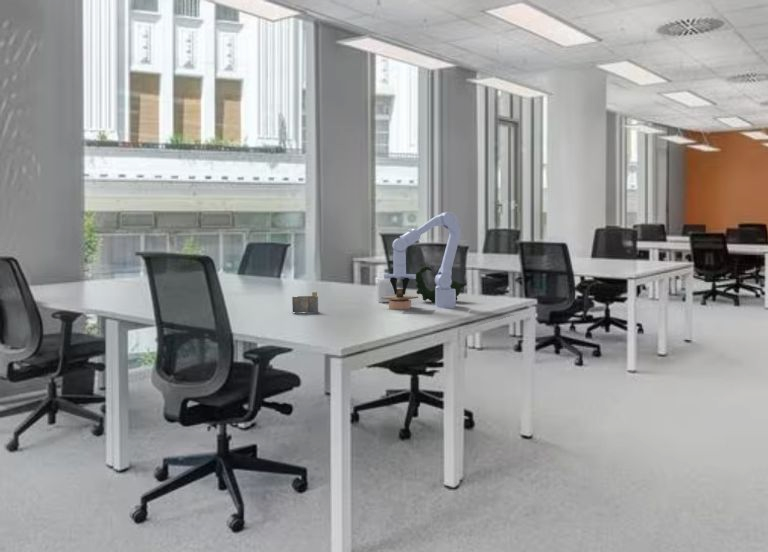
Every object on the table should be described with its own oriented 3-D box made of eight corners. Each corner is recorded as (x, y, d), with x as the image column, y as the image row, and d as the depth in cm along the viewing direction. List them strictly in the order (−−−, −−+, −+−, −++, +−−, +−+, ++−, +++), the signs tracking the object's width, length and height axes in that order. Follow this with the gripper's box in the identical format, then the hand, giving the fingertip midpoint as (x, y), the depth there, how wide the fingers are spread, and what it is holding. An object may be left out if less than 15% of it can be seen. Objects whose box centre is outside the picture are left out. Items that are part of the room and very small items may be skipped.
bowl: (412, 307, 320) (412, 299, 320) (408, 310, 311) (408, 301, 310) (391, 307, 322) (391, 298, 322) (387, 310, 313) (387, 301, 312)
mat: (435, 311, 307) (435, 310, 307) (431, 315, 295) (431, 314, 295) (407, 310, 310) (407, 309, 310) (401, 315, 298) (401, 313, 297)
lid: (418, 297, 316) (418, 288, 315) (400, 300, 307) (399, 291, 307) (399, 296, 324) (399, 287, 324) (381, 298, 316) (381, 289, 316)
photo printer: (393, 300, 346) (393, 276, 345) (398, 301, 342) (398, 276, 341) (376, 302, 340) (376, 277, 339) (381, 303, 337) (380, 278, 335)
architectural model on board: (318, 312, 311) (317, 291, 310) (318, 313, 308) (317, 291, 307) (293, 313, 310) (292, 291, 309) (292, 314, 307) (292, 292, 306)
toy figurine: (418, 306, 335) (469, 301, 335) (414, 268, 333) (465, 262, 333) (417, 304, 344) (466, 299, 344) (413, 266, 342) (463, 261, 342)
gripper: (416, 264, 317) (417, 293, 318) (386, 264, 320) (386, 293, 321) (414, 265, 310) (414, 295, 311) (382, 265, 313) (383, 294, 314)
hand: (399, 294), depth 316 cm, fingers closed on lid, 3 cm apart
